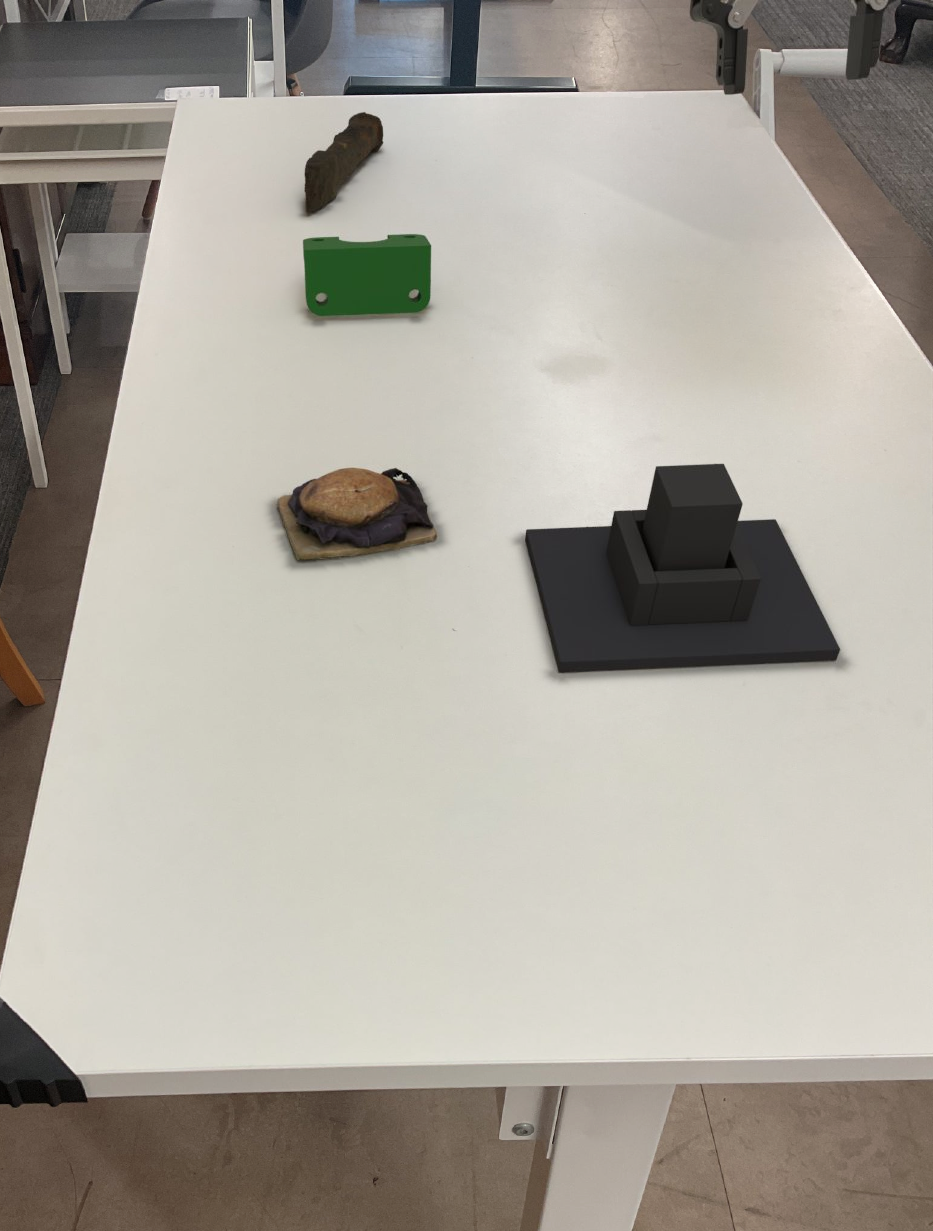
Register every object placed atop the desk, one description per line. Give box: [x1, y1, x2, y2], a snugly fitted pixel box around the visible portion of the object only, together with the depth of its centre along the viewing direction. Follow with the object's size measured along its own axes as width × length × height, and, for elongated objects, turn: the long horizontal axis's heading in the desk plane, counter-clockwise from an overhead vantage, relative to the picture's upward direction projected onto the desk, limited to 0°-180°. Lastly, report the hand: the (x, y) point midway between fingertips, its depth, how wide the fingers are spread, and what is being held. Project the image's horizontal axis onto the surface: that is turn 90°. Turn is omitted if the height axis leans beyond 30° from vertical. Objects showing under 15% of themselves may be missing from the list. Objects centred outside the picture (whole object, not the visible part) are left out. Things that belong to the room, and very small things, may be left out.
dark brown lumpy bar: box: [304, 111, 384, 213], centre depth 126 cm, size 19×4×5 cm, turn 158°
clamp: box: [302, 233, 432, 317], centre depth 107 cm, size 12×6×9 cm, turn 87°
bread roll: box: [276, 467, 438, 561], centre depth 85 cm, size 11×8×4 cm
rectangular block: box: [641, 463, 743, 572], centre depth 77 cm, size 4×4×8 cm
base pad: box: [524, 509, 841, 674], centre depth 79 cm, size 18×14×4 cm
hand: (795, 86), depth 81 cm, fingers open, 8 cm apart
